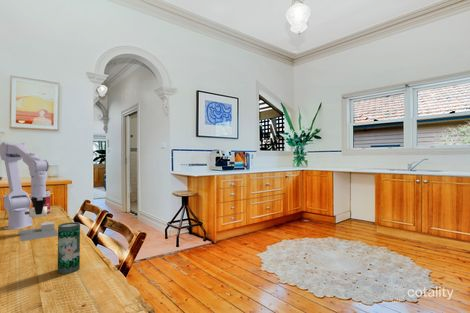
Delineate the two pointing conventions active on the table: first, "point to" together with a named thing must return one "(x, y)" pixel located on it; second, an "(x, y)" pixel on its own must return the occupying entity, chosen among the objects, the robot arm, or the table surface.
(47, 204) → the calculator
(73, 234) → the can
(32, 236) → the mat
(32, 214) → the plug
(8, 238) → the table surface
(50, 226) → the block
